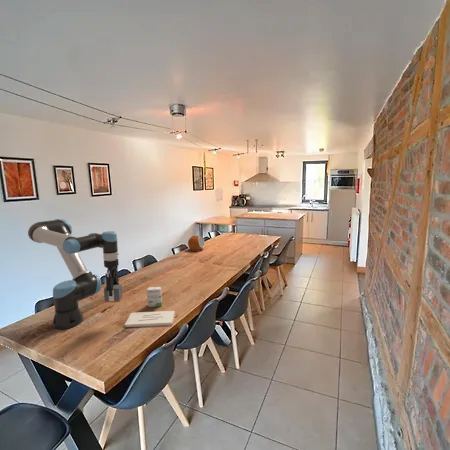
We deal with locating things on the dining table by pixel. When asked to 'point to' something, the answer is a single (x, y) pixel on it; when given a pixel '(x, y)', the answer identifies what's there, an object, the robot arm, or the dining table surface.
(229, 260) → the dining table surface
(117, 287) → the block
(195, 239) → the alarm clock
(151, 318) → the board
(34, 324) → the dining table surface
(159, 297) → the ink box
